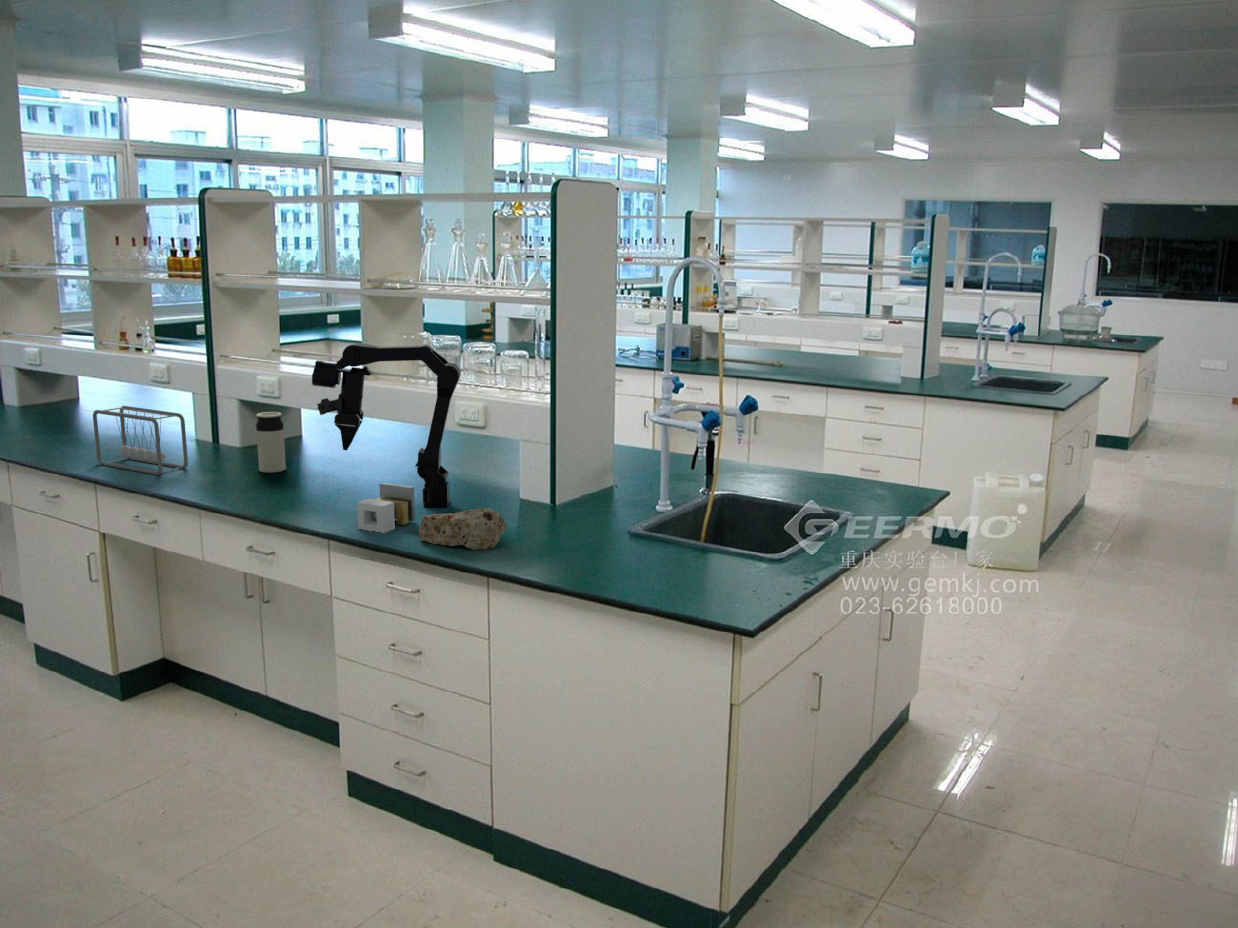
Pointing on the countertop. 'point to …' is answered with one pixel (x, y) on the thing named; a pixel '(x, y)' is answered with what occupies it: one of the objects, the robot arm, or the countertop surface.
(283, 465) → the travel mug
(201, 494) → the countertop surface
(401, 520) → the spacer
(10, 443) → the countertop surface
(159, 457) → the newton's cradle
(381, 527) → the block
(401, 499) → the grey piece
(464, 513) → the rock
